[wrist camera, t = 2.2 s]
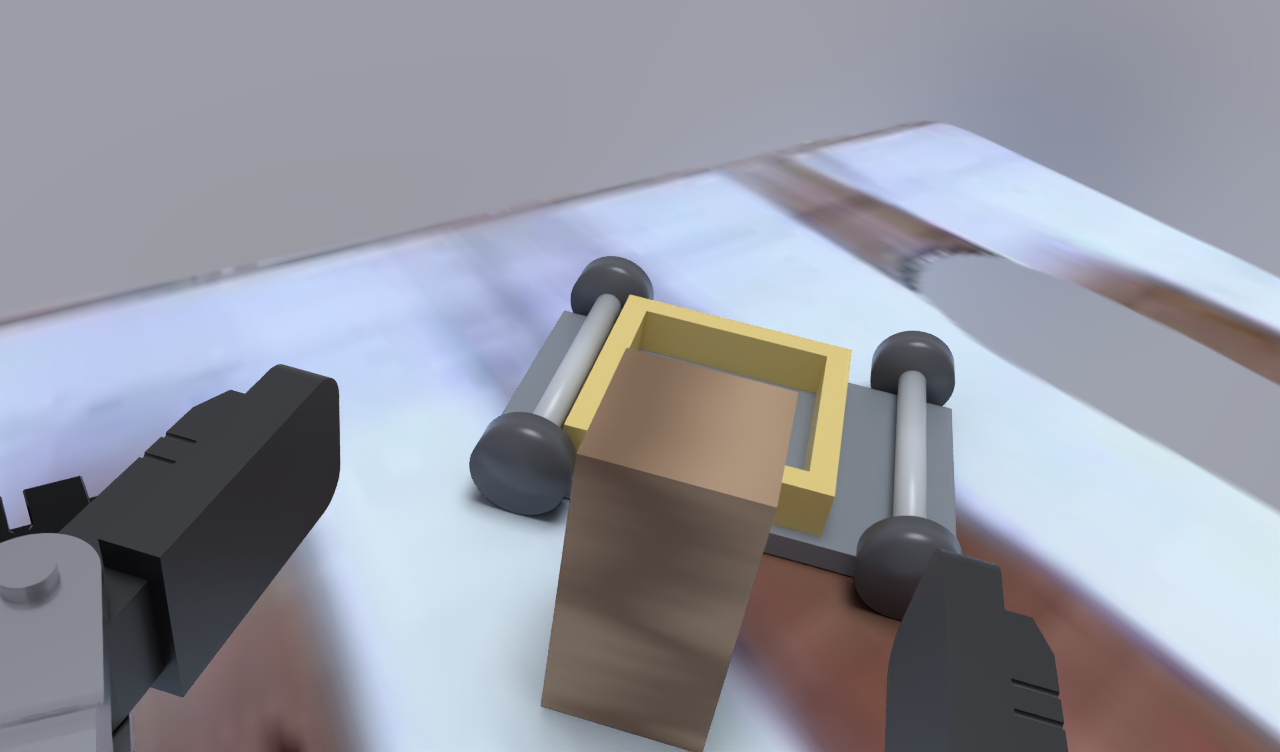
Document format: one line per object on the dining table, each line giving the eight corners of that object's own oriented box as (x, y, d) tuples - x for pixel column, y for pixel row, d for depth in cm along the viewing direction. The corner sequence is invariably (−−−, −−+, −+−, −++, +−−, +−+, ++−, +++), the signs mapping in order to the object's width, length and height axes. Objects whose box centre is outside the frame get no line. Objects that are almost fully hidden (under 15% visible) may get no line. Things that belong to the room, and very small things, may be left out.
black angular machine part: (229, 500, 36) (217, 399, 33) (297, 646, 31) (289, 542, 29) (-210, 622, 29) (-269, 509, 27) (-205, 830, 25) (-275, 717, 22)
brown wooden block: (728, 628, 34) (798, 392, 28) (701, 754, 30) (776, 507, 24) (586, 588, 34) (626, 347, 28) (540, 706, 30) (576, 453, 24)
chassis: (943, 407, 46) (969, 343, 44) (949, 634, 35) (985, 562, 33) (571, 313, 48) (579, 247, 46) (462, 498, 37) (466, 422, 35)
